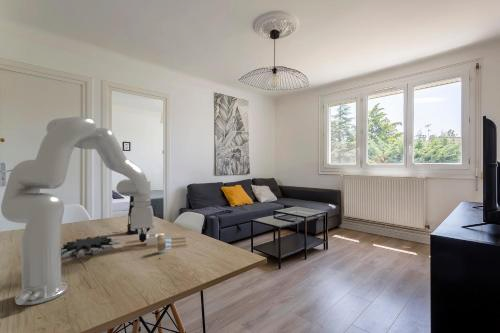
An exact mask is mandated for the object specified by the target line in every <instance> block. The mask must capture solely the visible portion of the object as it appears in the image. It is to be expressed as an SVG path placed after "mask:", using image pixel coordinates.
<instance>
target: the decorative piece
mask: <svg viewBox="0 0 500 333" xmlns="http://www.w3.org/2000/svg"><path fill="white" fill-rule="evenodd" d="M75 240H76V241H73V240H72V241H66V243H64V244H63V245H62V246H61V261H62V260H65V259H69V258H70V259H71V258H72V257H74V256H76V258H77V259H78V260H80V259H82V258H84V257H85V256H87V255H88V256H89V255H92V256H94V255H96V254H100V252H101V250H103V249H104V250H113V249H115V247H114V246H115V245H121V244H122V243H121V242H119V240H120V239H118V238H111V237H110V236H101V237H100V235H98V236H95V237H93V238H92V237H90V236H88V237H86V238H85V239H82V238H80V239H79V238H76V239H75Z"/></svg>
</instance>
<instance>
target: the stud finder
mask: <svg viewBox="0 0 500 333" xmlns="http://www.w3.org/2000/svg"><path fill="white" fill-rule="evenodd" d="M159 235H165V233H153V234H151V233H150V234H146V239H147V246H151V245H158V238H157V236H159Z"/></svg>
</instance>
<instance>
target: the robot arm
mask: <svg viewBox="0 0 500 333" xmlns="http://www.w3.org/2000/svg"><path fill="white" fill-rule="evenodd" d="M45 130H46V134H45V136H44V137H43V139H42V141H41V143H40V145H39V149H38V151H37V153H36V154H37V155H36V157H35V159H26V160H24V161H23V160H22V161H20V162H18V163H17V164H16V165H15V166H14V167H13V168H12V169H11V172H10V173H9V176H8V179H7V183H6V185H5V190H4V194H3V197H2V200H1V205H0V211H1V215H2V217H3V218H4V219H5V220H7V221H8V222H12V223H18V224H26V225H25V227H24V230H23V232H22V235H21V239H20V240H21V241H20V248H21V249H20V254H21V255H20V256H21V257H20V258H21V260H20V262H21V264H20V265H21V291H20V292H19V293H18V294H17V295H16V296H15V297H14V303H15V304H16V305H18V306H32V305H37V304H42V303H45V302H48V301H52V300H54V299H55V298H58V297H60V296H62V295H63V294H64V293H65V292H66V291H68V283H66V282H63V281H62V259H61V247H62V242H61V241H62V237H61V236H62V223H63V218H64V213H65V205H64V204H65V203H64V202H63V200H62V199H61V198H60V197H59V196H58V195H56V194H52V193H48V192H40V190H52V189H53V190H54V189H58V188H60V187H62V186H63V185H64V183H65V181H66V178H67V173H68V170H69V165H70V161H71V158H72V153H73V151H74V149H75V148H79V149H83V150H95V151H96V152H97V154H98V155H99V157H100V159H101V161H102V162H103V164H104V165H105V167H106V169H108V170H111V171H112V172H115V173H117V174H120V175H123V176H124V177H126V178H128V179H122V180H120V181H119V182H117V185H116V187H115V188H116V191H117V193H118V194H119V195H121V196H125V197H126V196H129V197H130V196H134V201H133V202H131V205H133V206H134V207H133V208H132V211H131V229H130V230H132V231H136V232H137V233H138V234H137V235H138V239H139V240H141V242H144V241H145V240H146V239H147V233H148V232H149V231H151V230H154V229H155V220H154V219H155V217H154V210H153V206H152V205H151V204H152V202H151V201H152V200H151V180H150V179H149V178H147V177H146V174H145V173H144V171H143V170H142V168H140V167H139V166H138V165H137V164H135V163H134V162H133V161H132V160H129V159H128V158H127V156H126V155H125V152H124V151H123V149H122V147H121V146H120V143H119V142H118V139H117V138H116V136H115V134H114V132H113V131H111V130H110V129H109V128H105V127H97V125H96V122H95V120H94V119H92V118H90V117H88V116H87V117H86V116H72V117H60V118H54V119H52V120H50V121H49V122H48V123H47V125H46V128H45ZM141 228H142V229H143V233H142V230H141Z"/></svg>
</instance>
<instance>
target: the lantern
mask: <svg viewBox="0 0 500 333" xmlns="http://www.w3.org/2000/svg"><path fill="white" fill-rule="evenodd" d="M133 201H134V196H129V205H128V208H129V209H128V212H127V217H128V218H127V219H128V220H127V225H126V227H127V231H126V235H129V234H130V235H133V236H134V234H135V235H139V234H138V233H137V232H136V231H132V230H130V229H131V211H132V208H133V207H134V206H133V205H131V202H133ZM141 230H142V233H143V232H144V228H141ZM130 235H129V236H130Z"/></svg>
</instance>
